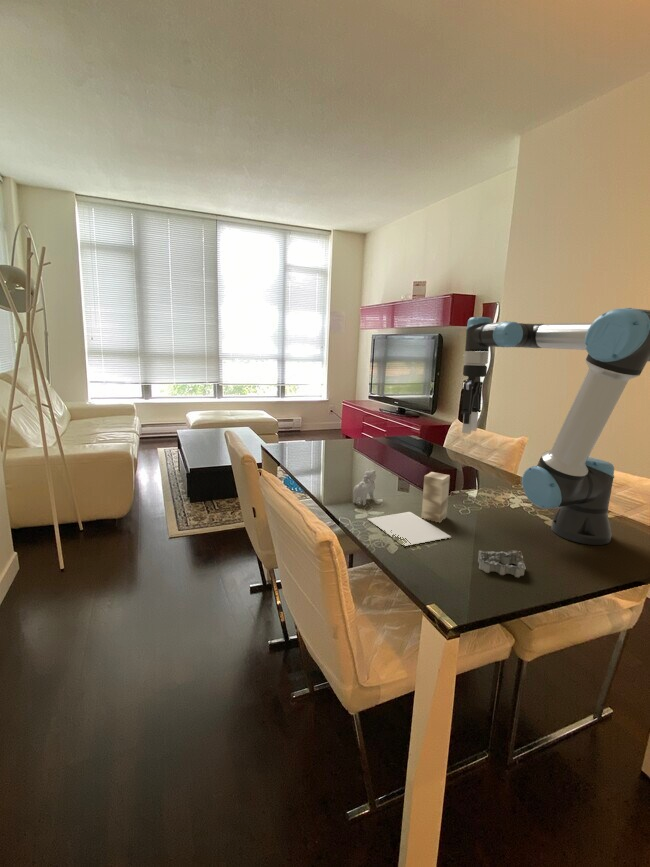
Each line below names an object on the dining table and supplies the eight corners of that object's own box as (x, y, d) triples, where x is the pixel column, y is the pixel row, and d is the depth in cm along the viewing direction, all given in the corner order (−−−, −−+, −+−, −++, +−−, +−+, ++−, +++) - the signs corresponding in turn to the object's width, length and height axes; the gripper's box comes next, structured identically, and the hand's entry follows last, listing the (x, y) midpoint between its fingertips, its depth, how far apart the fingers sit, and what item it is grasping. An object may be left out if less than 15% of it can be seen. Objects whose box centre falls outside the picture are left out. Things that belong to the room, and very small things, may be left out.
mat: (451, 538, 120) (451, 536, 120) (404, 547, 114) (404, 546, 114) (409, 513, 138) (410, 511, 138) (367, 520, 132) (367, 518, 132)
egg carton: (522, 566, 106) (523, 550, 106) (525, 581, 99) (527, 565, 99) (477, 558, 110) (478, 543, 109) (477, 572, 103) (479, 556, 102)
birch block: (446, 516, 136) (450, 475, 133) (439, 523, 131) (442, 479, 128) (428, 512, 139) (431, 471, 136) (421, 518, 134) (424, 476, 132)
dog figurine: (378, 496, 154) (380, 468, 152) (364, 507, 143) (366, 476, 141) (365, 493, 156) (366, 465, 154) (350, 504, 145) (351, 474, 143)
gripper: (472, 363, 153) (467, 426, 157) (454, 364, 137) (449, 434, 142) (494, 364, 148) (488, 429, 153) (478, 365, 133) (471, 437, 138)
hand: (469, 431), depth 147 cm, fingers open, 6 cm apart
